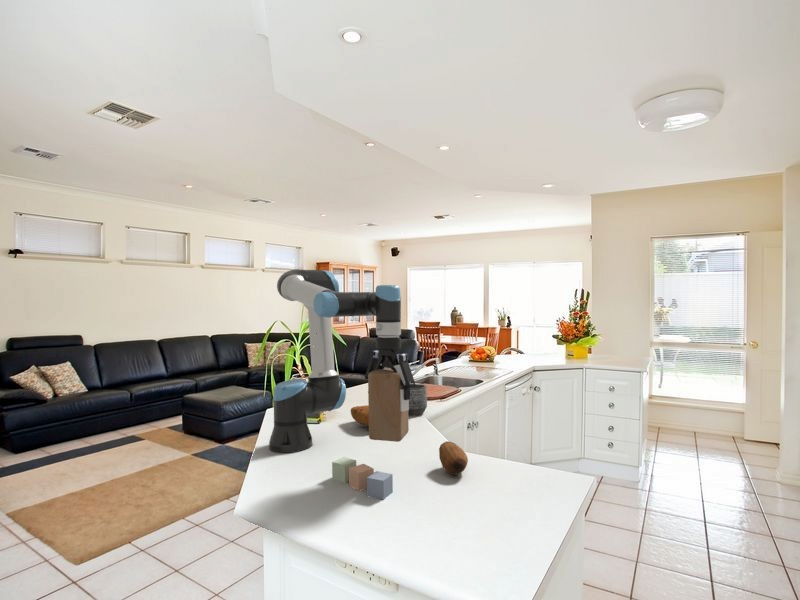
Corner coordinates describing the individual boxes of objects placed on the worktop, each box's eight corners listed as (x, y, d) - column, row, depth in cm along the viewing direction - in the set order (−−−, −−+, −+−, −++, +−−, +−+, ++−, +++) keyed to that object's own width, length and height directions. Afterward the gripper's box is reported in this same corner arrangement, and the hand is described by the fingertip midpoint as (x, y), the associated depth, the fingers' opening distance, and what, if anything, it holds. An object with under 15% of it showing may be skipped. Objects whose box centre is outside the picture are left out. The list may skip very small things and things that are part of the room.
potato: (463, 488, 129) (442, 477, 126) (448, 462, 142) (429, 451, 139) (478, 468, 128) (458, 456, 126) (462, 443, 141) (443, 432, 139)
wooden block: (400, 443, 128) (399, 373, 128) (367, 440, 131) (366, 372, 130) (409, 432, 137) (408, 368, 137) (378, 430, 140) (377, 367, 140)
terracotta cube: (349, 485, 125) (348, 467, 125) (363, 481, 128) (363, 463, 128) (358, 491, 121) (358, 472, 121) (373, 486, 124) (373, 468, 124)
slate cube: (367, 496, 118) (366, 477, 118) (376, 489, 122) (376, 471, 122) (383, 500, 115) (383, 480, 115) (392, 492, 120) (392, 474, 120)
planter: (427, 416, 199) (427, 388, 199) (400, 417, 199) (400, 388, 200) (426, 410, 211) (426, 383, 212) (400, 410, 212) (400, 383, 212)
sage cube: (332, 479, 130) (332, 461, 130) (344, 473, 134) (343, 457, 134) (344, 483, 127) (344, 465, 127) (356, 477, 131) (356, 460, 131)
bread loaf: (405, 429, 181) (405, 409, 181) (366, 435, 173) (366, 414, 173) (383, 417, 201) (383, 399, 201) (347, 422, 193) (347, 403, 193)
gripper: (353, 334, 140) (353, 402, 140) (408, 339, 122) (409, 416, 122) (371, 333, 146) (372, 398, 146) (427, 337, 127) (427, 411, 128)
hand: (389, 406), depth 134 cm, fingers closed on wooden block, 13 cm apart
